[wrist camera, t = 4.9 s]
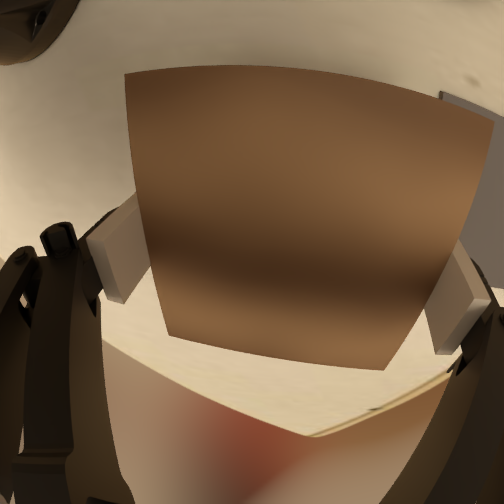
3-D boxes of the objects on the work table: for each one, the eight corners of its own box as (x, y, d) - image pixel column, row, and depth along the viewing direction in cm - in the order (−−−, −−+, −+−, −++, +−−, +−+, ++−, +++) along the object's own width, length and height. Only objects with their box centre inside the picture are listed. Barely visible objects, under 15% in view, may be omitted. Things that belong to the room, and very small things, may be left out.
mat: (440, 91, 13) (443, 91, 13) (564, 154, 11) (568, 156, 11) (393, 266, 21) (394, 271, 21) (510, 286, 19) (512, 290, 19)
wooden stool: (219, 65, 14) (124, 74, 7) (407, 89, 13) (494, 121, 5) (220, 234, 22) (168, 335, 14) (368, 256, 20) (383, 370, 13)
